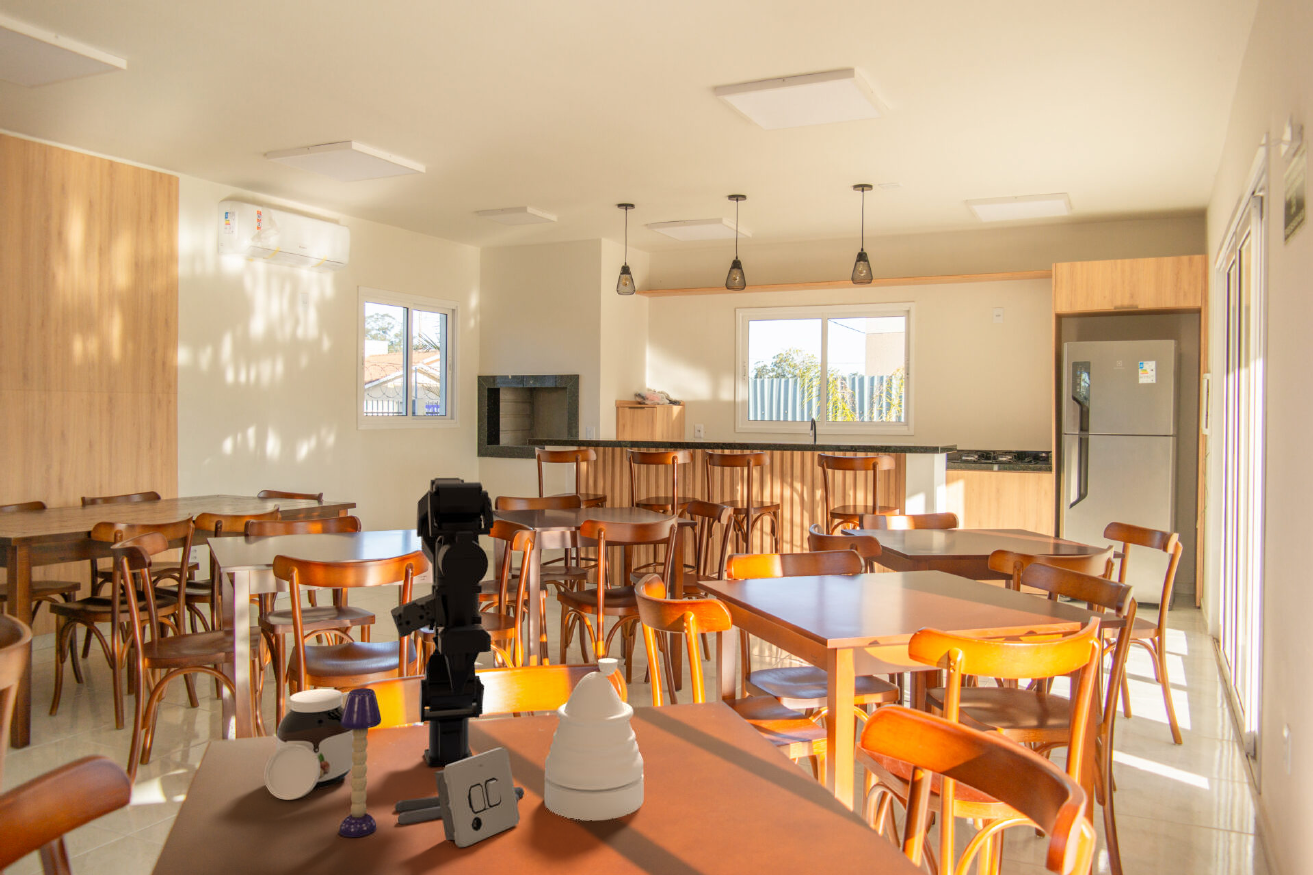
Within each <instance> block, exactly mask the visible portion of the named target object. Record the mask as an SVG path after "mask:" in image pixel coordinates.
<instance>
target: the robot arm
mask: <svg viewBox="0 0 1313 875" xmlns="http://www.w3.org/2000/svg"><path fill="white" fill-rule="evenodd" d="M416 510H417V511H416V537H417V538H420V542H421V547H420V548H421V551H422V554H423V555H424V556H425V557H426V559H427V560H428V561H429V562H430V564H431V574H432V580H431V581H432V584H431V593H430V594H426V595H425V596H421V597H418V598H416V599H414V600H410V601H409V602H406V603H403V604H401V605H399V606H396V607H395V608H392V609H391V610H390V614H391V617H392V620H393V623H394V624H395V627H396V629H397V632H398V634H399V637H400V638H405V637H408V636H410V635H412V633H413V632H416V631H418V630H420V629H423V628H425V627H427V630H428V631H433V637H432V638H431V640H432V641H433V644H434V651H433V652H432V653H431V655H430V656H429V658H428V660H427V662H426V665H425V669H424V670H425V671H424V679H423V678H422V679H420V684H419V697H418V707H419V708H418V712H419V713H418V715H419V720H420V723H425V722H428V748H426V749H424V753H423V754H424V757H425V759H426V764H427V766H428V767H437V766H446V765H448V764H451V763H454V762H457V761H460V760H463V759H466V758H469V757H472V756H474V755H473V753H472V751H471V747H470V745H469V743H470V742H469V741H470V738H469V736H470V732H469V731H470V730H469V729H470V728H469V726H470V722H469V721H470V718H471V719H472V718H475V719H479V718H480V715H483V713H484V712H483V708H484V707H483V705H484V703H483V702H484V695H485V694H484V693H485V685H484V684H483V683H482V680H481V678H480V675H476V666H475V665H476V664H475V662H476V661H477V658H478V656H479V654H480V653H488V652H491V651H492V635H491V634H490V633H489V632H488V630H486V628H484V626H482V623H483V622H482V615H481V614H480V594H482V593H483V592H482V590H483V588H482V587H483V586H482V584H481V583H480V582H481V581H482V580H483V579H484V577H485V576H486V574H487V572H488V568H489V559H488V556H487V554H486V552H485V551H484V549H483V548H482V547H481V545H480V541H479V538H480V537H479V536H489V535H491V529H494V525H495V520H494V513H493V512H494V511H493V503H492V498H491V497H489V492H488V490H486V489H485V490H483V484H482V483H481V482H479V481H478V482H477V481H475V482H470V481H469V482H466V481H465V480H464V479H462V478H460V477H435V478H434V479H430V482H429V490H428V491H427V492H426V493H425V494H424V495H423V496H422V497H421V498H420V499H419V500H417V509H416Z"/></svg>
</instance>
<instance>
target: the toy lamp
mask: <svg viewBox="0 0 1313 875" xmlns="http://www.w3.org/2000/svg"><path fill="white" fill-rule="evenodd" d="M378 703H379V702H378V699H377V696H376V692H375V690H374V689H372V688H366V687H364V688H355V689H352V690H350V691H349V692H348V694H347V698H346V701H345V705H344V707H343V708H344V711H343V715H342V719H341V726H342V727H344V728H347V729H353V730H352V734H353V737H354V739H353V742H352V748H353V750H354V751H353V753H352V762H353V765H352V768H351V770H350V771H351V776H352V779H351V783H350V785H351V789H352V790H351V795H350V799H351V803H352V804H351V807H350V813H351V814H349V815H348V816H346V817H345V818H344V819H343V820H342V822H341V824H340V826H339V835H341V836H343V837H348V838H359V837H364V836H368V835H370V834H372V833H374V832H375V831H376V830H377V823H376V820H375V818H374V817H373V816H372V815H371V814H369V813H366V811H367V804H366V800H367V798H368V797H367V790H366V787H367V784H368V778H367V776H366V775H367V772H368V765H367V760H368V751H367V748H368V744H369V742H368V738H367V736H368V734H369V729H372V728H375V727H377V726H379V725H380V724H381V722H382V716H381V711H380V707H379V704H378Z"/></svg>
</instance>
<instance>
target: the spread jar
mask: <svg viewBox="0 0 1313 875" xmlns="http://www.w3.org/2000/svg"><path fill="white" fill-rule="evenodd" d="M344 708H345V707H344V706H343V692H341V691H340V690H337V689H330V688H319V689H318V688H317V689H307V690H304V691H298V692H296V693H293V694H292V695H290V697H289V711H288V712H287V713H286V714H285V715H284V717H282V718H281V720H280V721H279V724H278V727H277V730H276V739H275V740H276V741H275V744H276V746H275V751H274V752H273V754H271V756H270V757H269V759H268V760H267V762H266V764H265V768H264V771H263V772H264V773H263V778H264V783H265V786H266V788H267V790H268V791H269V792H270V793H271V794H272V795H273V796H274V797H276V798H278V799H281V800H284V801H285V800H287V801H288V800H289V801H290V800H297V799H300V798H302V797H304V796H306V795H307V794H309V793H310V792H311V791H313V790H319V789H324V788H327V787H331V786H333V785H336V784H338V783H339V782H341V781H342V780H343V779H344V778H345V777H347V776H348V774H349V773H350V771H351V769H352V765H353V762H352V753H353V751H354V750H353V748H352V742H353V739H354V737H353V734H352V730H353V729H347V728H344V727H342V726H341V719H342V715H343V711H344Z"/></svg>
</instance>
